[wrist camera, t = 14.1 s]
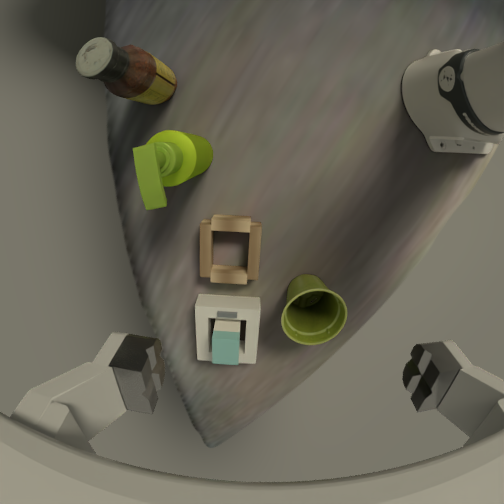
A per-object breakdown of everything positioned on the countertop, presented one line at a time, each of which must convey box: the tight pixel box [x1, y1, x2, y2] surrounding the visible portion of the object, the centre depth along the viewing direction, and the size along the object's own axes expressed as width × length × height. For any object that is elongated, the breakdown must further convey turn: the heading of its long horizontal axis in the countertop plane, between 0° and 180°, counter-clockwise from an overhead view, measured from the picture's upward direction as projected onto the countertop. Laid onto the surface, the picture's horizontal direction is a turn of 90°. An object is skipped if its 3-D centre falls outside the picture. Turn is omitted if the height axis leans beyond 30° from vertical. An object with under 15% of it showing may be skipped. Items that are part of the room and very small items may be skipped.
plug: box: [212, 318, 241, 365], centre depth 46 cm, size 4×5×8 cm
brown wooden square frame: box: [200, 215, 262, 284], centre depth 43 cm, size 9×10×3 cm
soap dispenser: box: [133, 130, 213, 210], centre depth 31 cm, size 6×7×20 cm
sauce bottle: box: [76, 37, 177, 105], centre depth 27 cm, size 6×6×20 cm
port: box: [195, 294, 261, 364], centre depth 47 cm, size 10×11×4 cm
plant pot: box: [281, 274, 347, 345], centre depth 43 cm, size 9×9×9 cm
